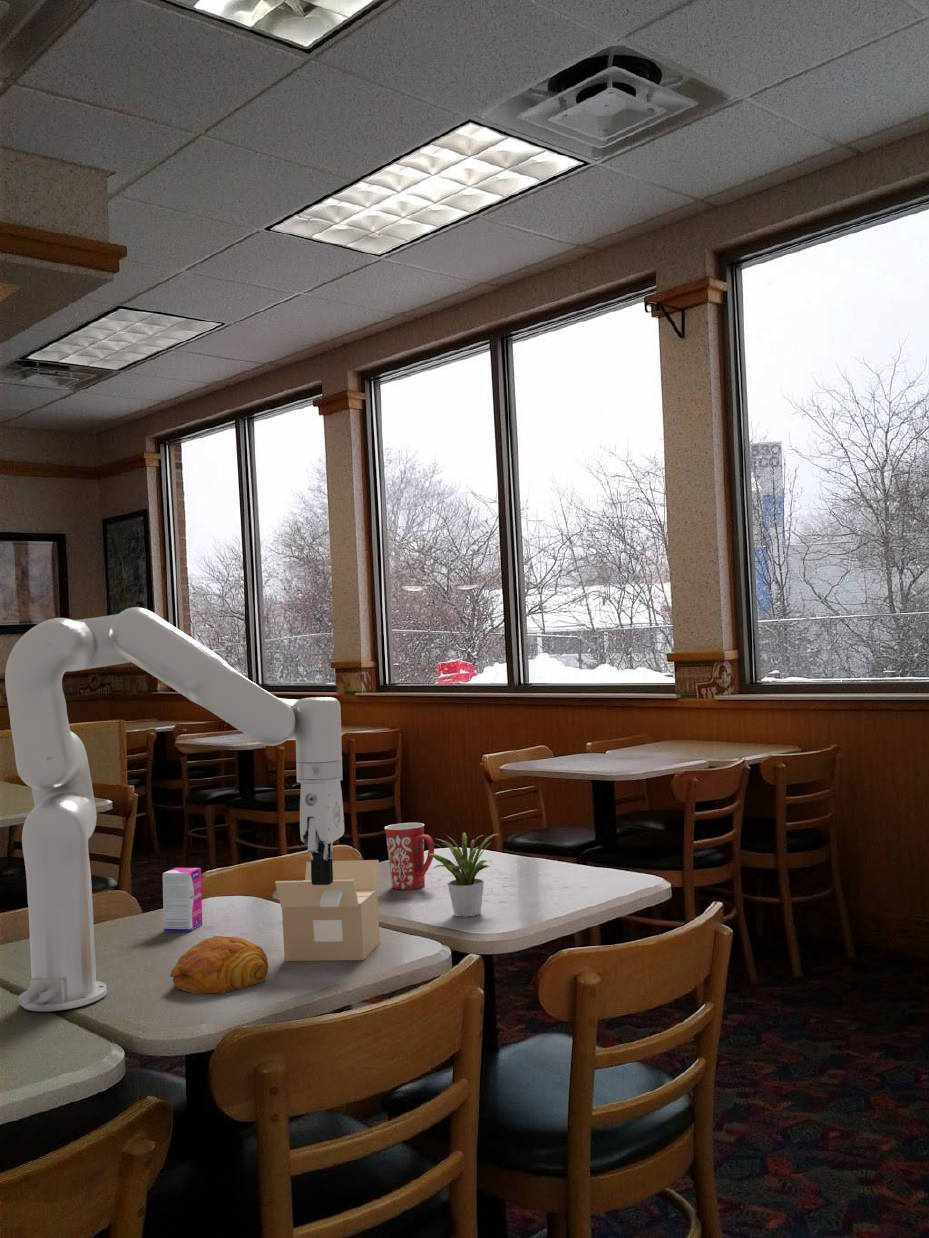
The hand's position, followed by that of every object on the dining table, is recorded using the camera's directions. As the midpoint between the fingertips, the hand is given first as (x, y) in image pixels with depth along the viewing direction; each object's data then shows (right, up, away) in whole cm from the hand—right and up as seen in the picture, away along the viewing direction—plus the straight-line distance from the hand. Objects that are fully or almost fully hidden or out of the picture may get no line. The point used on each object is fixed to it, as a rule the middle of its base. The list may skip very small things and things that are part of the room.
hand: (322, 883), depth 180 cm
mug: (+12, -16, +61) cm, 64 cm away
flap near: (-1, -3, +5) cm, 6 cm away
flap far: (+1, -3, +19) cm, 19 cm away
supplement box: (-32, -18, +35) cm, 51 cm away
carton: (+1, -15, +11) cm, 19 cm away
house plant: (+25, -14, +35) cm, 45 cm away
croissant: (-16, -16, -3) cm, 23 cm away
